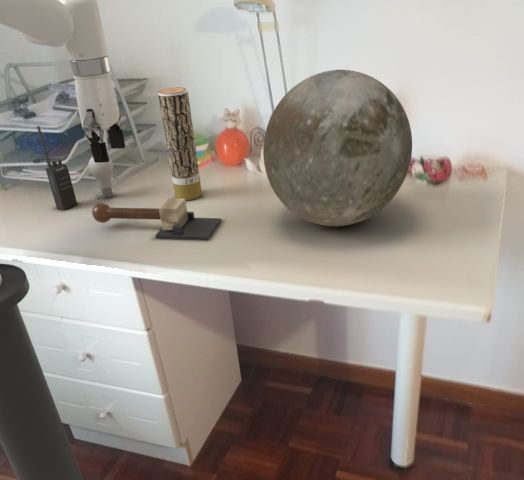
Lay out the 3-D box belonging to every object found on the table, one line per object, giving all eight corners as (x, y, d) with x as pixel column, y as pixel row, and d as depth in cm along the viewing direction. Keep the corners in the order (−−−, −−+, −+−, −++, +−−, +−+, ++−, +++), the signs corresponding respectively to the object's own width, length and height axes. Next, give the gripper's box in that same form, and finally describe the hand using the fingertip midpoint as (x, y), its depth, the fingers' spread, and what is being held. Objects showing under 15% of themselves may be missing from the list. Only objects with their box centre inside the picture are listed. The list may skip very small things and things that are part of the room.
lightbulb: (118, 199, 146) (108, 156, 139) (94, 202, 146) (83, 159, 139) (121, 191, 151) (112, 149, 144) (98, 193, 151) (88, 151, 144)
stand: (221, 221, 129) (219, 211, 128) (207, 240, 121) (206, 229, 120) (171, 220, 132) (170, 210, 131) (155, 238, 124) (153, 227, 123)
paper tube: (170, 200, 143) (151, 93, 128) (184, 190, 148) (168, 86, 133) (193, 202, 140) (177, 94, 126) (207, 192, 145) (193, 87, 131)
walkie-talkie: (64, 210, 142) (40, 128, 130) (55, 208, 144) (31, 126, 132) (79, 204, 145) (57, 122, 134) (70, 202, 147) (48, 121, 135)
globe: (291, 192, 141) (285, 58, 124) (415, 199, 131) (427, 55, 114) (248, 244, 118) (233, 89, 101) (394, 256, 109) (405, 88, 92)
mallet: (188, 219, 129) (185, 198, 126) (179, 230, 124) (175, 208, 121) (101, 217, 134) (96, 197, 131) (89, 228, 129) (84, 207, 126)
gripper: (90, 61, 120) (108, 143, 130) (54, 77, 106) (78, 168, 116) (123, 59, 119) (139, 142, 129) (91, 75, 105) (112, 167, 115)
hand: (110, 154), depth 123 cm, fingers open, 9 cm apart
